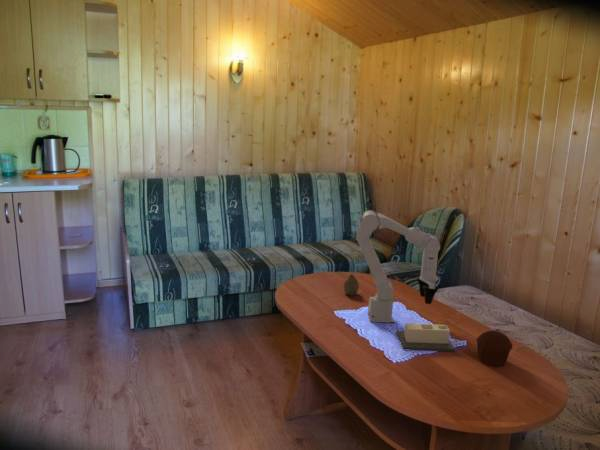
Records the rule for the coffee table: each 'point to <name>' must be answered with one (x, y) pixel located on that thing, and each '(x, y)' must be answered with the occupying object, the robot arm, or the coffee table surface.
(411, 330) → the block with holes
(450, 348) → the flange base
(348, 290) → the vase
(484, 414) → the coffee table surface
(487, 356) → the muffin
